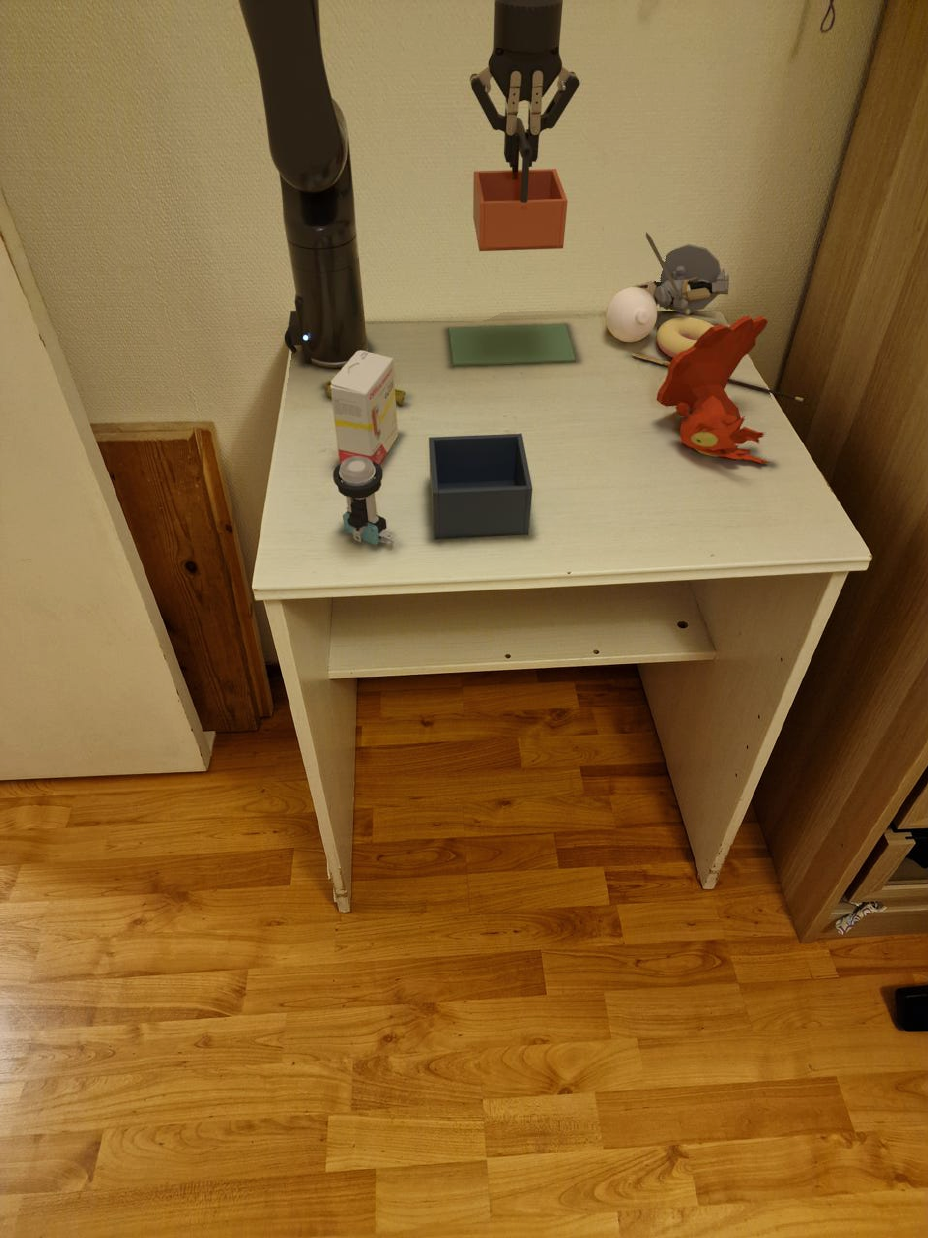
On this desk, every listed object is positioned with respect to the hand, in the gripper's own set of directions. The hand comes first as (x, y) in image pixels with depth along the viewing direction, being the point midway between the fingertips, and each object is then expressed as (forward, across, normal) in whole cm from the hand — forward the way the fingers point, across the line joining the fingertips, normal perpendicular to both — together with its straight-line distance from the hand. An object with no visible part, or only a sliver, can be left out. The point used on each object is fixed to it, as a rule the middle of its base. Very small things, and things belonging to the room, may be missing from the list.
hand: (519, 164), depth 101 cm
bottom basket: (+25, +8, +36) cm, 45 cm away
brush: (+25, -17, +4) cm, 31 cm away
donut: (+24, -22, +6) cm, 33 cm away
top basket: (+9, 0, 0) cm, 9 cm away
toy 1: (+15, -31, -2) cm, 34 cm away
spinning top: (+25, -17, -8) cm, 31 cm away
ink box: (+25, +21, +24) cm, 41 cm away
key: (+25, +22, +12) cm, 36 cm away
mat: (+25, 0, 0) cm, 25 cm away
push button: (+25, +21, +40) cm, 52 cm away
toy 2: (+18, -23, +18) cm, 34 cm away
